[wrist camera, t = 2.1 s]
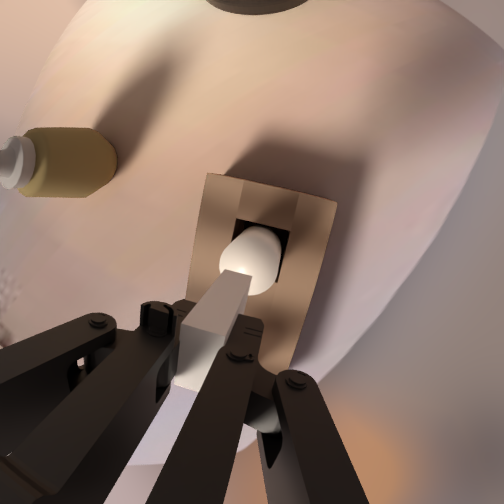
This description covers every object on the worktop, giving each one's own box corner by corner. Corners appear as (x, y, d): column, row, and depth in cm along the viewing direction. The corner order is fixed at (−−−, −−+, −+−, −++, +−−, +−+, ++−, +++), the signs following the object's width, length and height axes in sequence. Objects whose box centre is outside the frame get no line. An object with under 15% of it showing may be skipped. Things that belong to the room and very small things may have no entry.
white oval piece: (241, 220, 25) (225, 232, 19) (286, 231, 25) (284, 246, 19) (231, 264, 26) (214, 287, 20) (275, 275, 26) (270, 301, 20)
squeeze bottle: (95, 121, 30) (-20, 100, 12) (137, 151, 30) (12, 137, 13) (68, 175, 32) (-45, 184, 15) (105, 208, 32) (-15, 236, 15)
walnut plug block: (223, 174, 29) (207, 172, 24) (328, 199, 29) (337, 202, 23) (192, 354, 35) (175, 381, 29) (276, 376, 34) (273, 408, 28)
